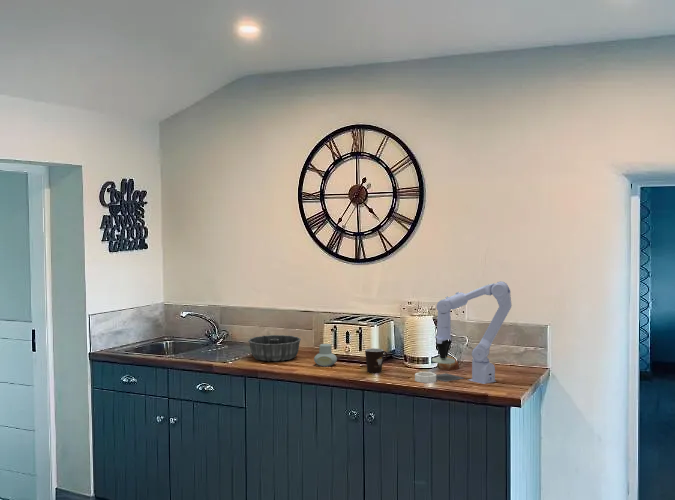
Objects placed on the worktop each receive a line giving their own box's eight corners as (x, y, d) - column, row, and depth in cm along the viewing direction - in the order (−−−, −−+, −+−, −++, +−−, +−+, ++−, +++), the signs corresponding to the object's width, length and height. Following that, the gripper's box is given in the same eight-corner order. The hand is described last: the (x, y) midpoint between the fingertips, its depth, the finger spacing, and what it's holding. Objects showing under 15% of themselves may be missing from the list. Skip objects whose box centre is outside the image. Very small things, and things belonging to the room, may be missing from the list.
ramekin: (440, 382, 308) (440, 374, 307) (425, 385, 302) (425, 377, 302) (426, 378, 315) (426, 371, 315) (410, 381, 310) (410, 373, 309)
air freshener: (312, 366, 340) (312, 345, 340) (315, 363, 348) (315, 343, 348) (335, 367, 339) (335, 346, 338) (337, 363, 347) (337, 343, 347)
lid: (459, 362, 312) (460, 352, 312) (443, 364, 306) (443, 354, 306) (443, 358, 320) (443, 348, 320) (427, 360, 314) (427, 350, 314)
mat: (465, 379, 313) (465, 378, 313) (445, 382, 306) (445, 381, 306) (445, 374, 322) (445, 373, 322) (426, 377, 315) (426, 376, 315)
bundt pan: (276, 366, 342) (276, 345, 342) (237, 359, 358) (237, 339, 358) (311, 357, 363) (311, 338, 363) (273, 352, 379) (272, 333, 379)
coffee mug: (368, 374, 323) (368, 352, 323) (362, 370, 332) (362, 348, 331) (392, 372, 326) (392, 350, 326) (386, 369, 335) (386, 347, 334)
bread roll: (436, 375, 338) (430, 360, 337) (454, 364, 341) (447, 350, 340) (447, 379, 329) (440, 364, 327) (464, 368, 332) (458, 353, 330)
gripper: (439, 324, 321) (439, 354, 322) (430, 328, 308) (429, 359, 308) (455, 325, 318) (455, 355, 319) (446, 329, 305) (445, 361, 305)
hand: (443, 357), depth 313 cm, fingers closed on lid, 2 cm apart
